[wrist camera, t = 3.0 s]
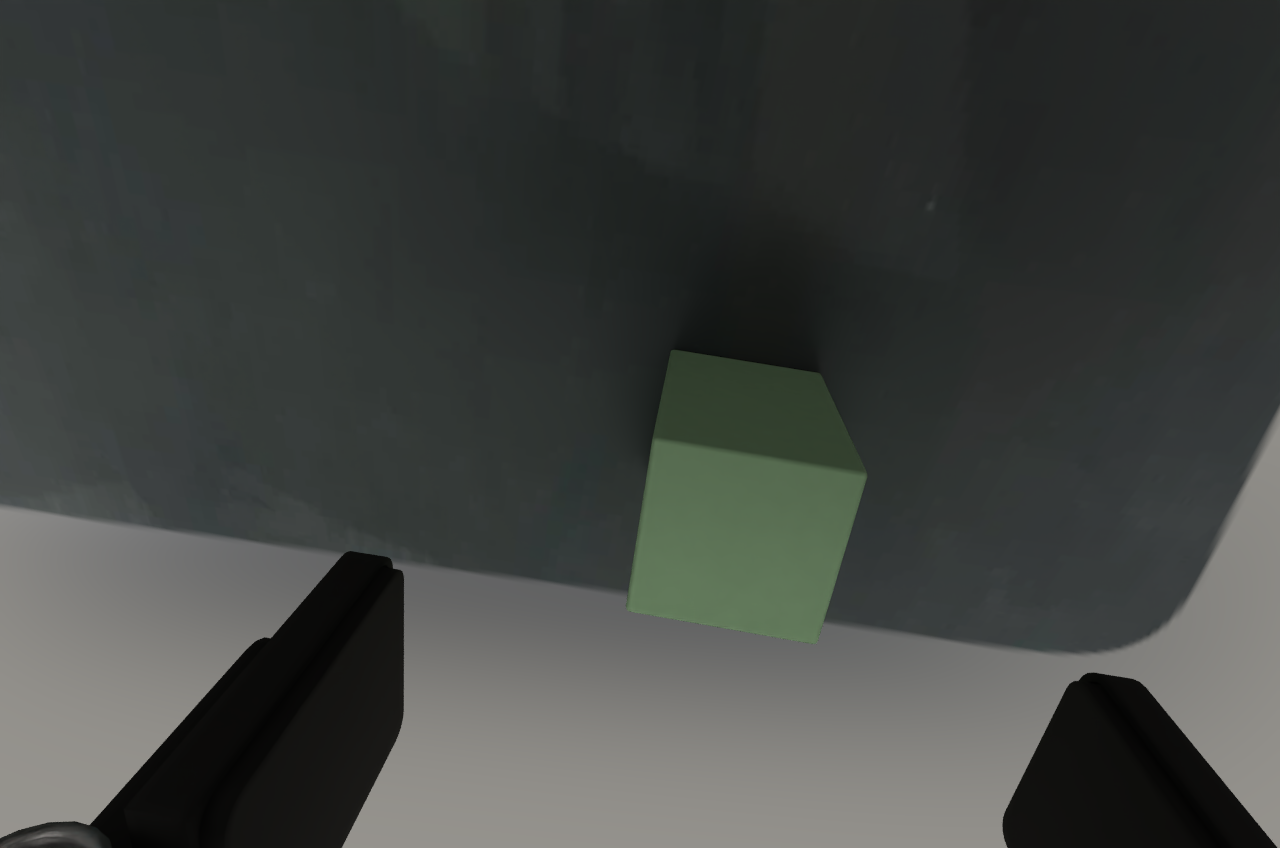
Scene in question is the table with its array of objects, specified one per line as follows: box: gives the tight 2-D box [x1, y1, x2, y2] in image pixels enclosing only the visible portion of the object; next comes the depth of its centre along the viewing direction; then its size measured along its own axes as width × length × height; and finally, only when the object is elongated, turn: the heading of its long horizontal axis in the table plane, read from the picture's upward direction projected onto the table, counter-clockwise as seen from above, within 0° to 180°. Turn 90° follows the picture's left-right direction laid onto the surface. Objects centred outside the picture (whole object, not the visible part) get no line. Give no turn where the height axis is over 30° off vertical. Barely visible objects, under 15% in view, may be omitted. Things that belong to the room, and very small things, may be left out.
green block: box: [626, 350, 867, 644], centre depth 16 cm, size 4×4×6 cm
